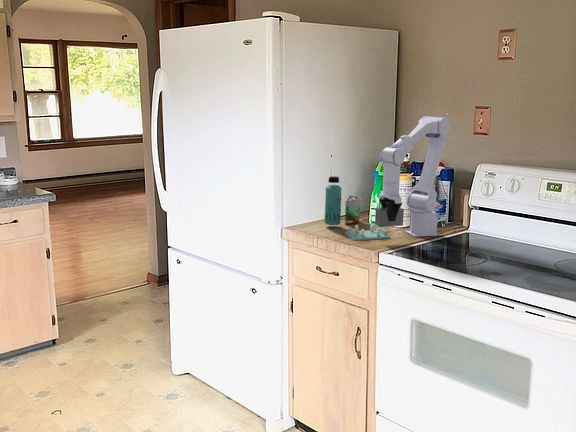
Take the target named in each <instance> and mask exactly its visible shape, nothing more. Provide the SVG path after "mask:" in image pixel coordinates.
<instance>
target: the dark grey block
mask: <svg viewBox="0 0 576 432" xmlns="http://www.w3.org/2000/svg"><path fill="white" fill-rule="evenodd" d="M404 211H405V209H404V208H402V206H401V207H400V209H399V211H398V213H397V217H396V220H395V221H389V218H388V209H387V207H384V208H382V207H375V214H374V217H375V219H374V220H375V221H374V225H375V226H377V227H381V228H383V227H385V228H386V227H402V226H404V217H405V216H404V214H405V212H404Z"/></svg>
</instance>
